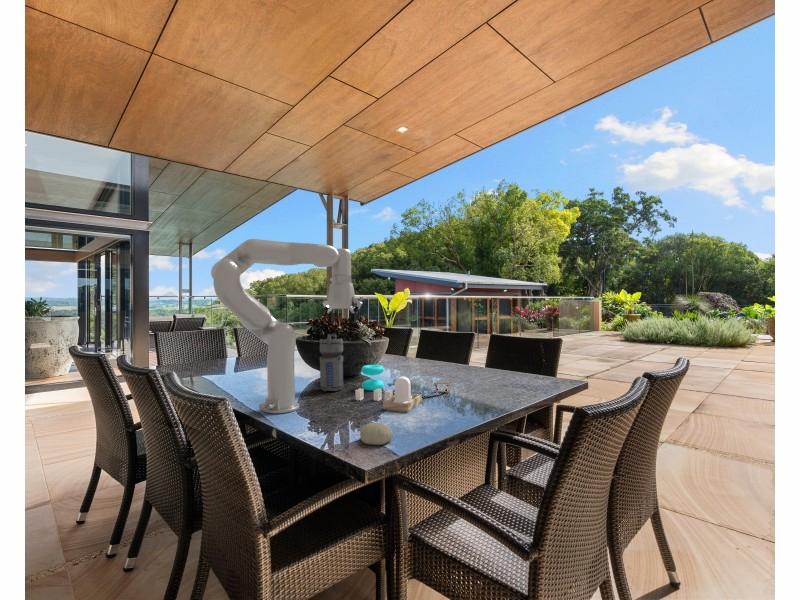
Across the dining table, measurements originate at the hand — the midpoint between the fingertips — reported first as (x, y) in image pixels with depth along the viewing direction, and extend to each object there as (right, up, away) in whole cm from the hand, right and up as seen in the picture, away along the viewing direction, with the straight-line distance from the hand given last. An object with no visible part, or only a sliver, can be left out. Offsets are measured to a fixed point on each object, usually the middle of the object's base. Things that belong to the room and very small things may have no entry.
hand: (342, 323), depth 160 cm
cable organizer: (+24, -30, -11) cm, 39 cm away
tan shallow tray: (+24, -30, -11) cm, 40 cm away
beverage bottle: (-7, -31, +18) cm, 36 cm away
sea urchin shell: (+16, -31, -47) cm, 58 cm away
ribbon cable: (+30, -31, +13) cm, 44 cm away
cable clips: (+13, -30, -1) cm, 33 cm away
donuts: (+11, -30, +20) cm, 38 cm away
